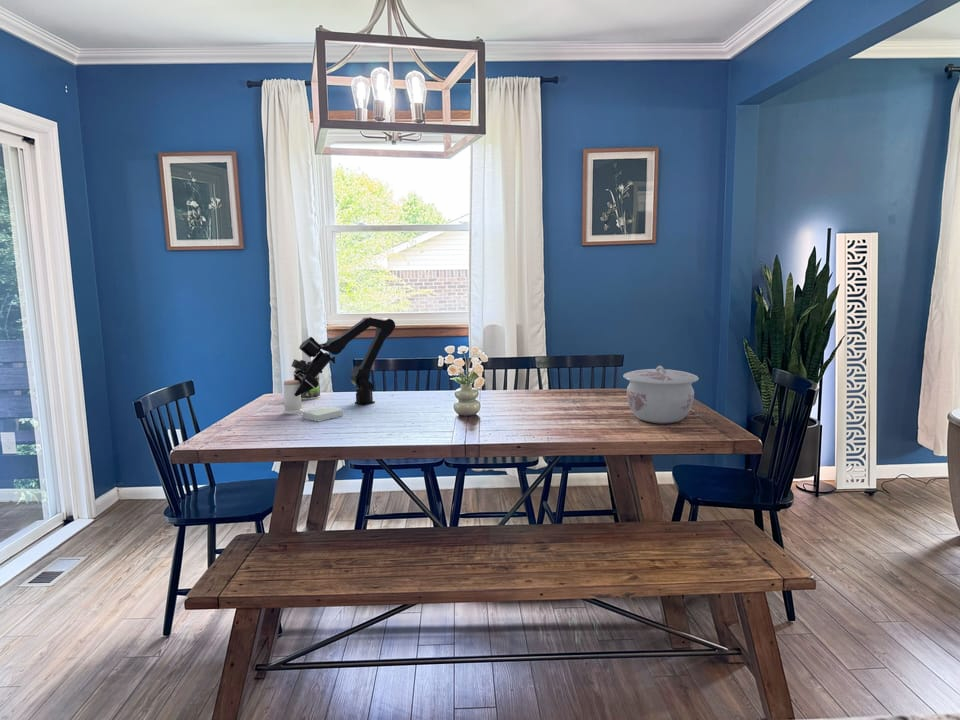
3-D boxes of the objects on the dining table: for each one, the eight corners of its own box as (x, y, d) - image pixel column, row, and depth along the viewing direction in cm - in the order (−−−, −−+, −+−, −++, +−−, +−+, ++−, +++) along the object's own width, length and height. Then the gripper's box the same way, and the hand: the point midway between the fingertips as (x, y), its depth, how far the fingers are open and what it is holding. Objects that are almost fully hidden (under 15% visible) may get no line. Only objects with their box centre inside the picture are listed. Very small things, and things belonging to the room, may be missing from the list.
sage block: (327, 412, 260) (327, 406, 259) (343, 415, 253) (342, 409, 253) (302, 417, 251) (302, 411, 250) (317, 421, 244) (317, 415, 244)
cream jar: (296, 409, 265) (294, 378, 263) (306, 412, 261) (304, 381, 259) (280, 412, 260) (278, 381, 258) (290, 415, 255) (288, 383, 253)
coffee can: (325, 396, 290) (323, 366, 288) (306, 400, 282) (305, 369, 279) (310, 394, 296) (309, 364, 294) (292, 398, 288) (290, 367, 286)
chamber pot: (675, 433, 222) (677, 374, 218) (608, 420, 240) (609, 366, 237) (710, 418, 241) (712, 364, 238) (645, 407, 260) (647, 357, 257)
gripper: (297, 349, 267) (272, 377, 263) (309, 354, 251) (282, 385, 247) (316, 366, 272) (292, 394, 268) (329, 372, 256) (303, 402, 252)
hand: (292, 393), depth 259 cm, fingers open, 9 cm apart
